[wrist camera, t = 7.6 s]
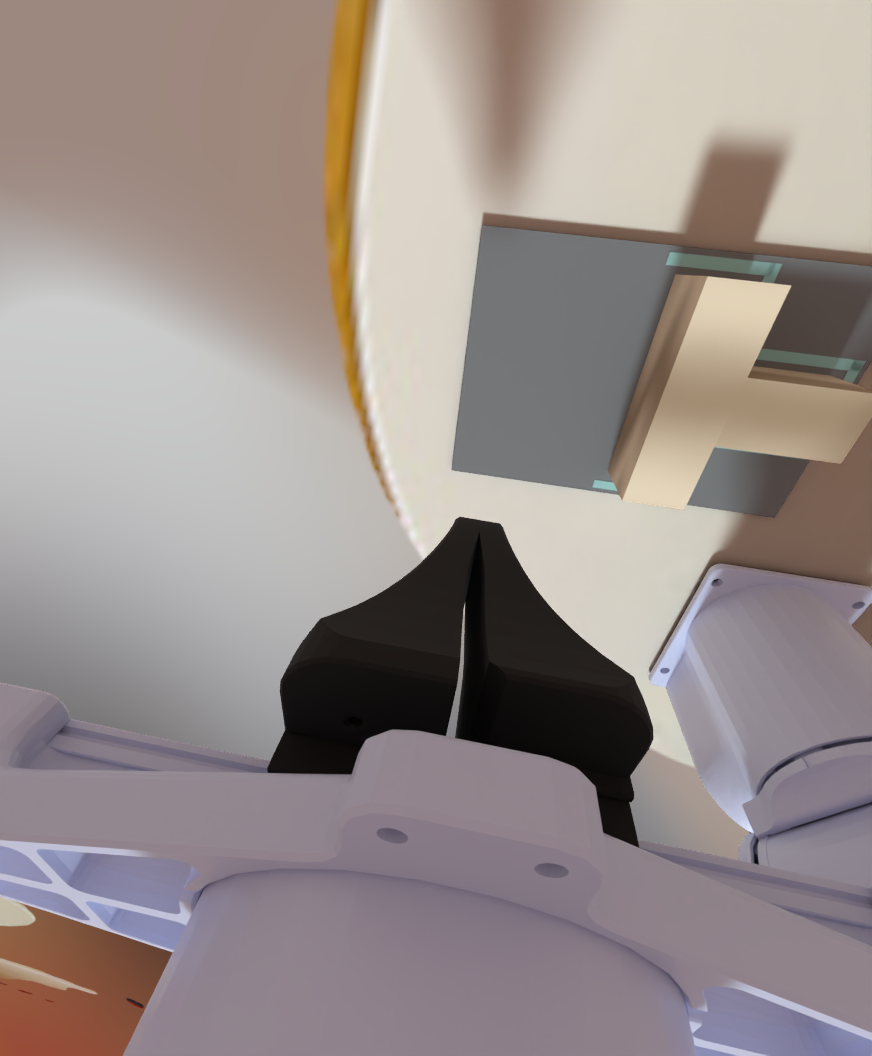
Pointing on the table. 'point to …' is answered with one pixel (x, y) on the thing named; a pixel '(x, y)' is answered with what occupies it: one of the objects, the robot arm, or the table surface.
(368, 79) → the table surface
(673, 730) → the table surface
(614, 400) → the mat
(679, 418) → the t block
